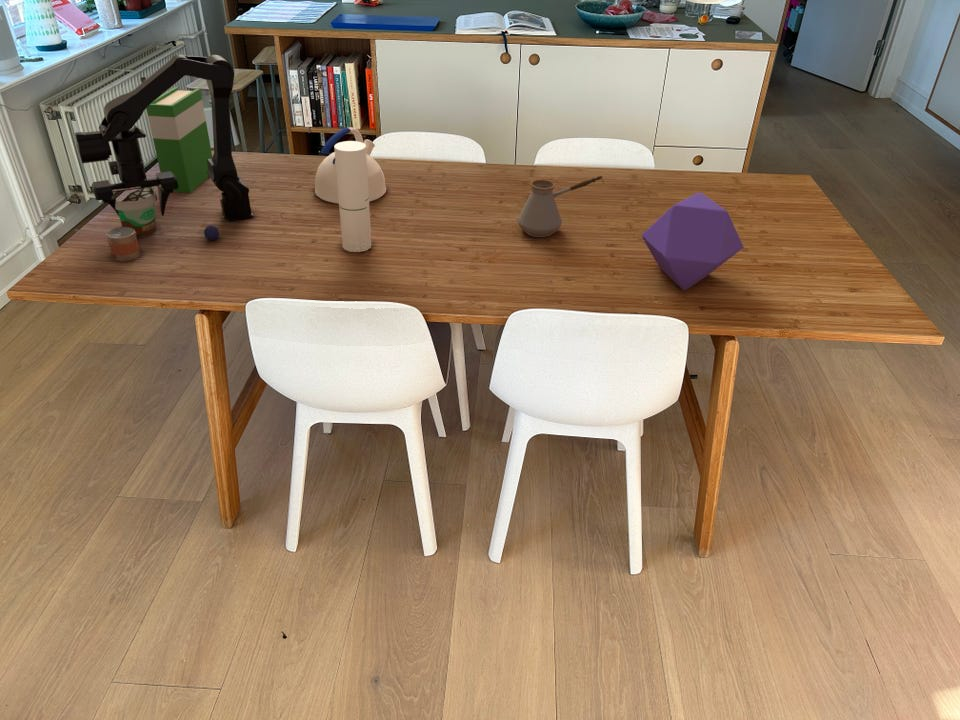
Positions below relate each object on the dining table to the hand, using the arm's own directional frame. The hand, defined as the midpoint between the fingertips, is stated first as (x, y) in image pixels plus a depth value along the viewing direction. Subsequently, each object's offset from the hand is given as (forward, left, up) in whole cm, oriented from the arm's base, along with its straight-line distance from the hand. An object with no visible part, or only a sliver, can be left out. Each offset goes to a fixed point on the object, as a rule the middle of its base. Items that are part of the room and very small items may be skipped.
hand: (143, 218), depth 185 cm
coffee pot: (-94, +46, -4) cm, 105 cm away
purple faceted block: (-106, +81, -4) cm, 133 cm away
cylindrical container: (-44, +31, -4) cm, 54 cm away
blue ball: (-14, +12, -4) cm, 18 cm away
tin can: (+6, +12, -4) cm, 14 cm away
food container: (0, 0, -4) cm, 4 cm away
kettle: (-56, -3, -4) cm, 56 cm away
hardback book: (-17, -30, -4) cm, 35 cm away
